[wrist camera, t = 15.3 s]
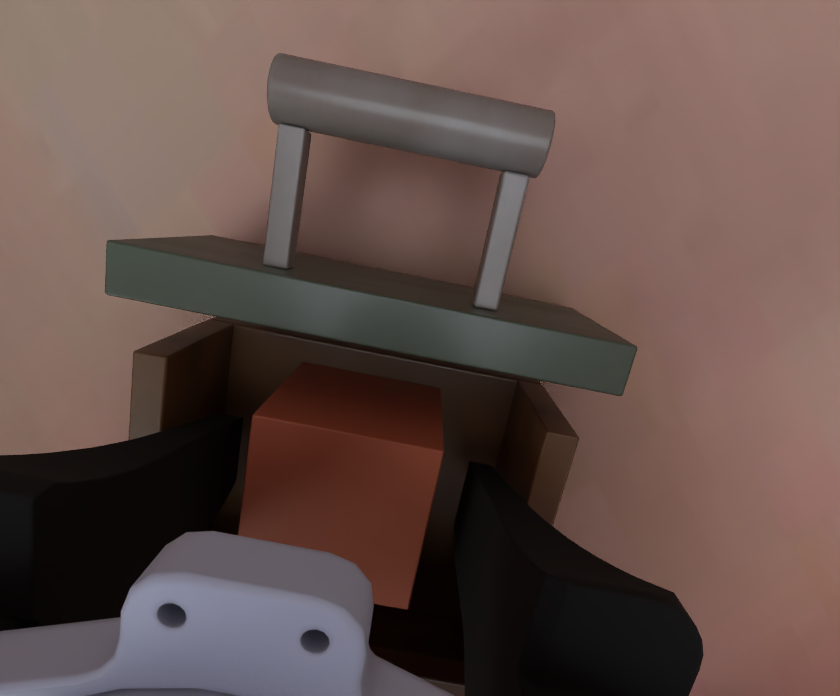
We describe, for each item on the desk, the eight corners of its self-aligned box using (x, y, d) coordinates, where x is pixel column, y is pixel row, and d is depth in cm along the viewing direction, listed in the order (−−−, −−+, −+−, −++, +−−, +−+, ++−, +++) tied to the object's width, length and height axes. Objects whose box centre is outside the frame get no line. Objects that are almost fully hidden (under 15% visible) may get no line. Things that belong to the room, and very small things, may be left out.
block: (441, 387, 15) (444, 451, 11) (414, 510, 16) (407, 610, 12) (302, 361, 15) (251, 414, 11) (284, 485, 16) (232, 578, 12)
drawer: (224, 79, 14) (114, 0, 9) (614, 161, 14) (709, 128, 10) (181, 566, 18) (89, 692, 13) (484, 622, 19) (504, 765, 14)
